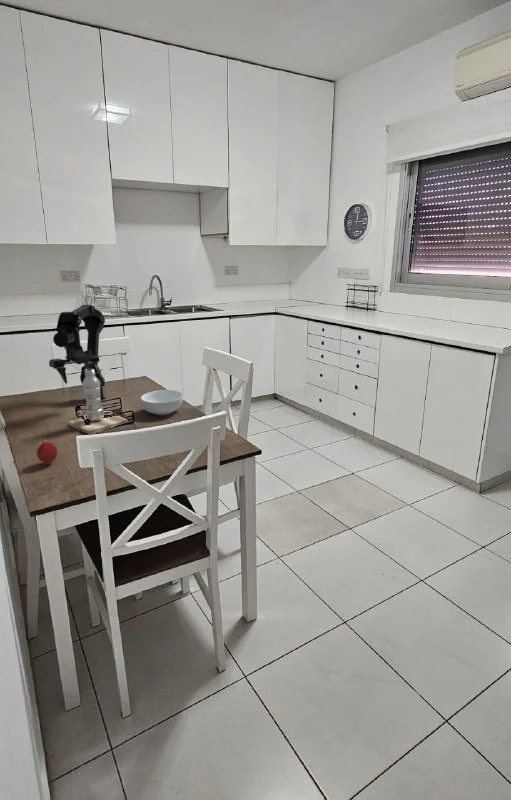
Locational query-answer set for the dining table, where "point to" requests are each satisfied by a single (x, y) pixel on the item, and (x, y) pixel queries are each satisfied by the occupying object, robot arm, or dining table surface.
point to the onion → (47, 452)
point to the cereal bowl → (162, 401)
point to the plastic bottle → (92, 396)
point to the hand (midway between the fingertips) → (77, 381)
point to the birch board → (98, 424)
